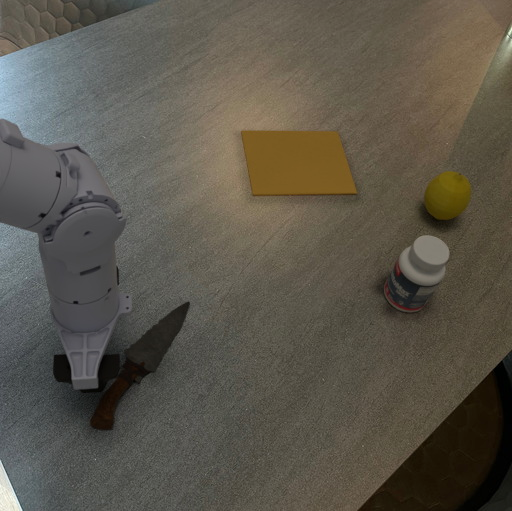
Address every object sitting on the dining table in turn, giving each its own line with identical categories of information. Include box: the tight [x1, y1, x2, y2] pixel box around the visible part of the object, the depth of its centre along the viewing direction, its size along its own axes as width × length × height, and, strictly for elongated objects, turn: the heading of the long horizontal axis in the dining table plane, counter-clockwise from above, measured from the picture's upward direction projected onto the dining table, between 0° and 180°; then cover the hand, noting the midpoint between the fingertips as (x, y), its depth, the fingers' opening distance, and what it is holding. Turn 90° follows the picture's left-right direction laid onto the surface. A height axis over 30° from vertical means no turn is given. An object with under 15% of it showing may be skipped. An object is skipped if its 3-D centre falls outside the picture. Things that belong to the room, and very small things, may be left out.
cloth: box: [240, 130, 358, 197], centre depth 85 cm, size 14×12×1 cm
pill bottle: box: [383, 234, 451, 313], centre depth 70 cm, size 5×5×9 cm
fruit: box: [423, 170, 472, 221], centre depth 79 cm, size 6×6×8 cm
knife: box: [89, 301, 191, 431], centre depth 63 cm, size 17×2×5 cm
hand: (93, 354), depth 63 cm, fingers open, 7 cm apart
